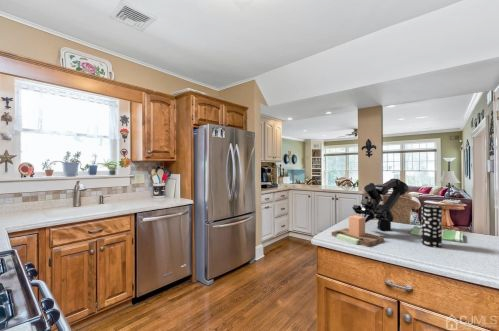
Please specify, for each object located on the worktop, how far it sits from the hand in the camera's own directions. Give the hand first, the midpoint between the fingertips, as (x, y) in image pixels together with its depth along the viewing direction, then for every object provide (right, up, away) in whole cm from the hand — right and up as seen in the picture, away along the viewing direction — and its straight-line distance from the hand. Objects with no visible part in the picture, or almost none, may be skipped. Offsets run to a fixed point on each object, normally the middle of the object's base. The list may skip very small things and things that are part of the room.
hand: (363, 223), depth 137 cm
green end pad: (-12, -8, -8) cm, 16 cm away
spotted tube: (+28, -8, -15) cm, 33 cm away
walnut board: (-5, -8, -3) cm, 10 cm away
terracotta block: (-5, -6, -3) cm, 8 cm away
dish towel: (+43, -8, +1) cm, 44 cm away
